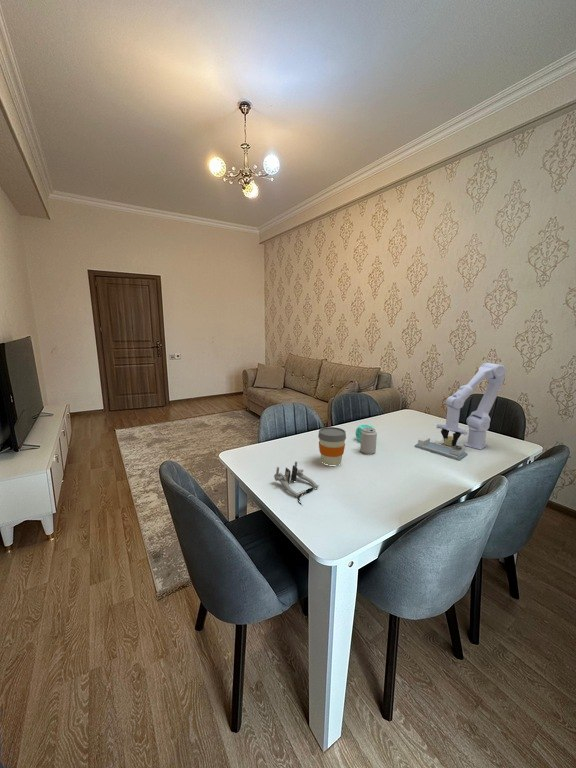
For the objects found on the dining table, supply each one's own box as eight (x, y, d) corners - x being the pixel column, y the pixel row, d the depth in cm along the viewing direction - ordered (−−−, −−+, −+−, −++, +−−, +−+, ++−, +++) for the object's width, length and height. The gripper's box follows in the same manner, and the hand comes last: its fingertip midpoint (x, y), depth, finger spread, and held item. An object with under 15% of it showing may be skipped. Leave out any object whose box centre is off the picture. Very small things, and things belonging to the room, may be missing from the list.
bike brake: (269, 481, 124) (301, 511, 109) (271, 466, 122) (303, 495, 107) (296, 472, 132) (328, 499, 118) (298, 458, 130) (331, 483, 116)
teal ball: (364, 444, 165) (364, 430, 164) (355, 439, 172) (355, 425, 171) (376, 442, 168) (376, 428, 167) (366, 437, 176) (367, 423, 174)
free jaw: (455, 450, 154) (456, 443, 154) (464, 453, 151) (465, 446, 151) (449, 454, 150) (450, 447, 149) (458, 457, 147) (459, 449, 146)
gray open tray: (423, 442, 168) (424, 435, 167) (467, 455, 152) (468, 447, 151) (414, 446, 162) (415, 439, 161) (459, 460, 145) (460, 452, 145)
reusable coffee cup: (334, 471, 135) (336, 438, 132) (312, 462, 143) (312, 431, 140) (350, 461, 144) (351, 431, 141) (327, 454, 152) (328, 425, 149)
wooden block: (448, 444, 165) (449, 435, 164) (455, 446, 162) (456, 437, 161) (443, 447, 161) (444, 438, 160) (450, 449, 158) (451, 440, 158)
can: (376, 455, 151) (377, 432, 149) (360, 454, 152) (361, 431, 150) (375, 449, 158) (376, 427, 156) (360, 448, 160) (361, 426, 157)
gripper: (434, 417, 162) (432, 442, 164) (464, 424, 151) (461, 450, 153) (440, 415, 166) (438, 439, 169) (470, 421, 155) (467, 447, 158)
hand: (449, 444), depth 161 cm, fingers closed on wooden block, 4 cm apart
